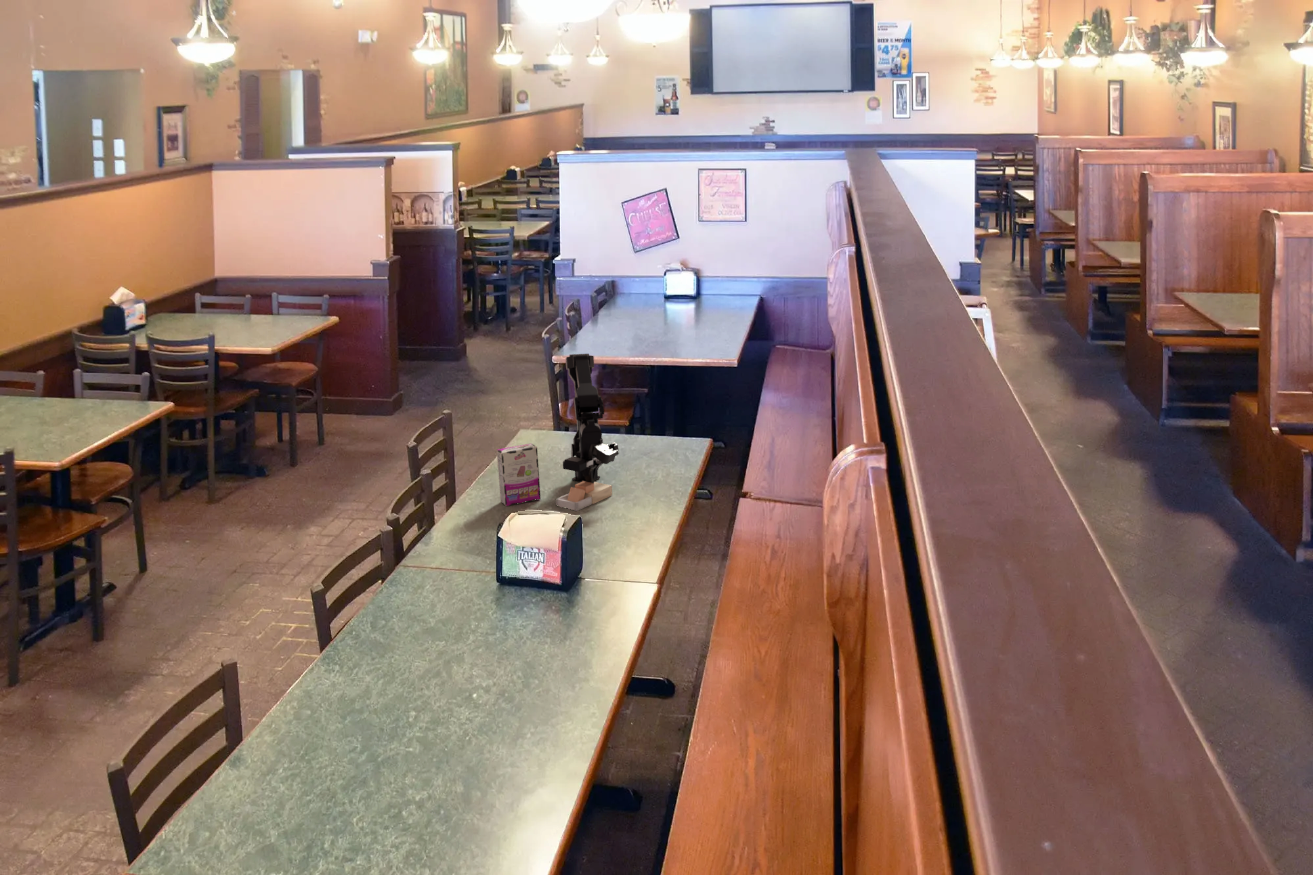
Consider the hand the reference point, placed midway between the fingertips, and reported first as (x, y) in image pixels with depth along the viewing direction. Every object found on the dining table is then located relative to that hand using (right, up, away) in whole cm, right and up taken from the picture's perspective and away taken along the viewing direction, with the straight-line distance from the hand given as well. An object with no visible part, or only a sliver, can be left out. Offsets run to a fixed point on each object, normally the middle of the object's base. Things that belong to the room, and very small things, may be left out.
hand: (591, 485), depth 337 cm
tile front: (-3, -3, -4) cm, 6 cm away
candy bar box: (-21, -5, 0) cm, 21 cm away
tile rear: (-2, -1, -2) cm, 3 cm away
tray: (-5, -5, -5) cm, 9 cm away
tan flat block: (0, -3, +1) cm, 4 cm away
